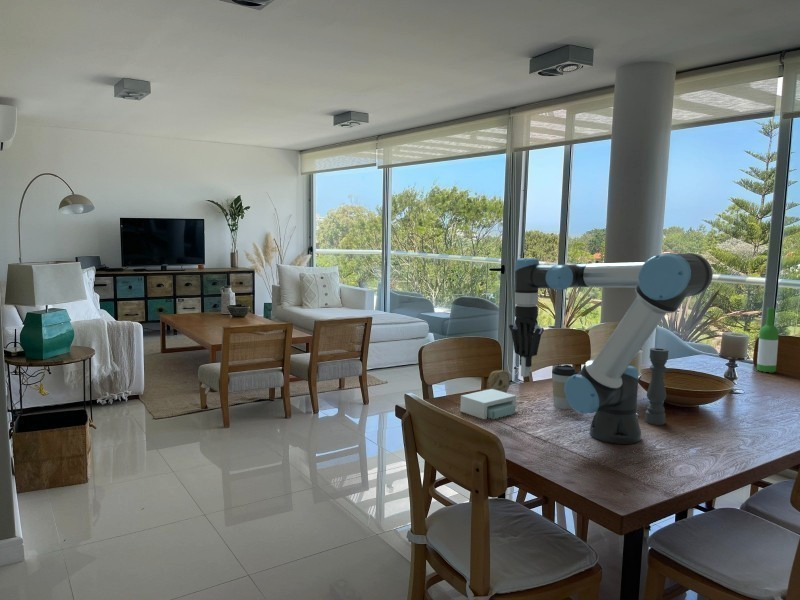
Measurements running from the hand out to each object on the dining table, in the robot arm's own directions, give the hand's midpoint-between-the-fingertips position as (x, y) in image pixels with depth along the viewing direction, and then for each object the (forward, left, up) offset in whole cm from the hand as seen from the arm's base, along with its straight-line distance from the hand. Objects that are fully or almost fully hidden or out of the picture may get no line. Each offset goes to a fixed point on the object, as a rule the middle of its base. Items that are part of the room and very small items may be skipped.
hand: (525, 375), depth 199 cm
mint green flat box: (+14, 0, -16) cm, 21 cm away
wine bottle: (-17, -153, -16) cm, 155 cm away
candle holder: (-26, -37, -16) cm, 48 cm away
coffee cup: (+4, -27, -16) cm, 32 cm away
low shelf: (+16, 0, -16) cm, 23 cm away
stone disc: (+29, -19, -16) cm, 38 cm away
